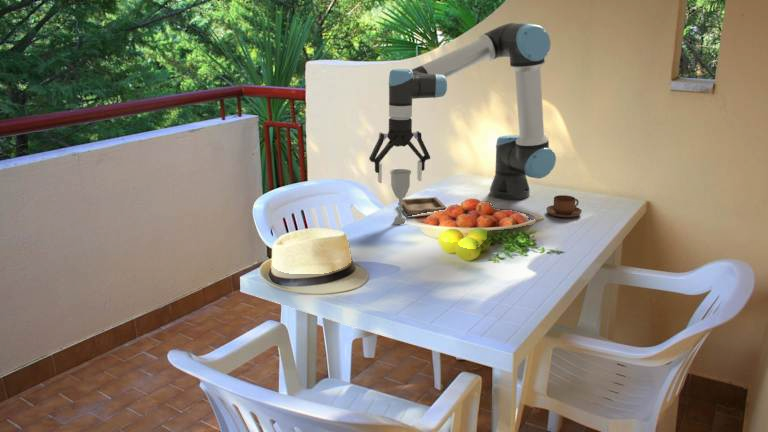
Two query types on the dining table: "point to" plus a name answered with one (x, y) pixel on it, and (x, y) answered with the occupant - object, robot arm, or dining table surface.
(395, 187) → the chalice
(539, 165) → the robot arm
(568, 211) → the cup and saucer
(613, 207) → the dining table surface
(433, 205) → the tray
